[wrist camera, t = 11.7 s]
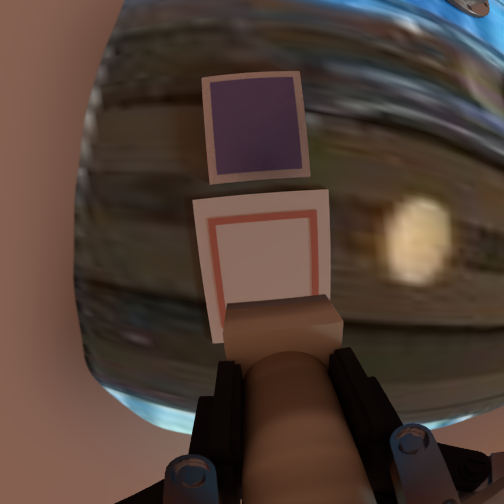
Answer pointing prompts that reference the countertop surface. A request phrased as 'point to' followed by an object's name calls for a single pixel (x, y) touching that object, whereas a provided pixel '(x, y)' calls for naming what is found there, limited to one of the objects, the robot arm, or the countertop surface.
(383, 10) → the countertop surface
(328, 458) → the stamp
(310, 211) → the note card
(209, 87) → the ink pad
